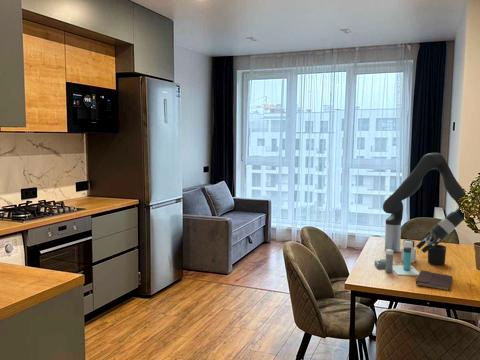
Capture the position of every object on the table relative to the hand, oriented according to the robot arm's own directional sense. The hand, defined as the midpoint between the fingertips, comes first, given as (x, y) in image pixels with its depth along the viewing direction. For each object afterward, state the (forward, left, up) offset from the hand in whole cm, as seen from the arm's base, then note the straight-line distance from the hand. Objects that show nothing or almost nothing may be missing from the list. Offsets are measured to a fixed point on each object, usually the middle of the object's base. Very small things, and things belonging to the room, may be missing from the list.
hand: (420, 249), depth 227 cm
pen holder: (-16, +14, -12) cm, 25 cm away
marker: (0, -6, -11) cm, 13 cm away
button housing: (-7, -18, -12) cm, 22 cm away
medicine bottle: (-21, 0, -12) cm, 24 cm away
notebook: (+18, +1, -12) cm, 21 cm away
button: (-7, -18, -10) cm, 21 cm away
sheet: (0, -8, -12) cm, 14 cm away
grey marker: (+3, -17, -12) cm, 21 cm away
